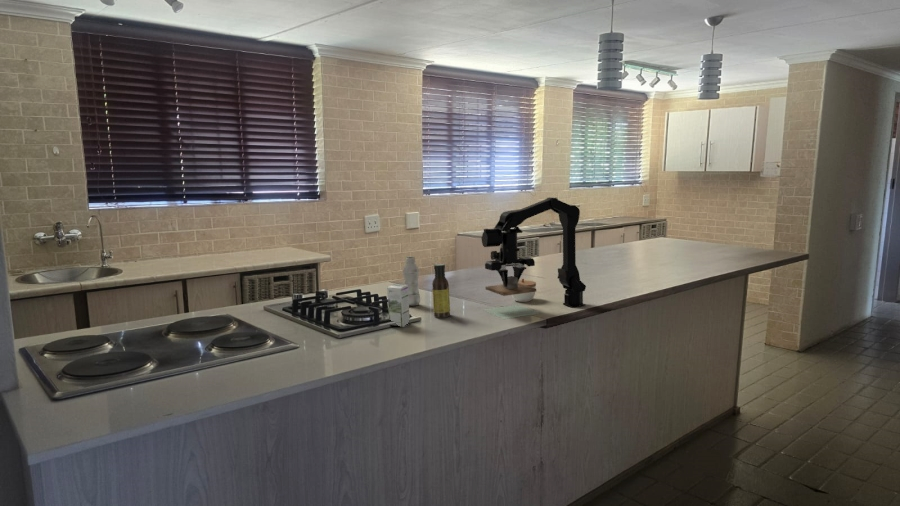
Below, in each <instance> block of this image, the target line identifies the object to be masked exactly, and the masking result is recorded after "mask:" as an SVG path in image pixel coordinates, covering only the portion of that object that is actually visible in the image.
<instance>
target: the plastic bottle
mask: <svg viewBox="0 0 900 506" xmlns="http://www.w3.org/2000/svg"><path fill="white" fill-rule="evenodd" d="M419 272H420V269H419V266H417V264H416V257H415V256H406V258H405V264H404V267H403V269H402V273H403V279H404V280H403V281H404V285H408V294H409V307H414V306H415V307H416V306H418V305H420V303H421V295H420V291H419V290H420V289H419Z"/></svg>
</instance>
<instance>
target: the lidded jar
mask: <svg viewBox="0 0 900 506" xmlns="http://www.w3.org/2000/svg"><path fill="white" fill-rule="evenodd" d="M518 283H519V284H522V285H525V286H529V287H532V288H535V289H536V290H537V288H536V287H537V286H536V285H537V283H536V282H535V281H533V280H525V279H524V278H521V280H519V281H518ZM535 295H536V292H529V293H521V294H514V295H511V297H512V299H513V300H514V301H515V302H519V303H526V302H527V303H528V302H530V301H532V300H533V298H534V297H535Z"/></svg>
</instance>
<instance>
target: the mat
mask: <svg viewBox="0 0 900 506" xmlns="http://www.w3.org/2000/svg"><path fill="white" fill-rule="evenodd" d="M483 312H487V314H488V313H489V314H490V315H493V316H494V317H498V318H500V319H502V320H506V319H512V318H513V319H514V318H518V317H527V316H533V315H540V311H539V312H538V311H535V310H534V309H533V310H532V309H530V308H529V307H525V306H524V305H520V304H515V305H509V306H508V305H507V306H501V307H495V308H494V307H493V308H488V309H487V308H486V309H483Z"/></svg>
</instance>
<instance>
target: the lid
mask: <svg viewBox="0 0 900 506" xmlns="http://www.w3.org/2000/svg"><path fill="white" fill-rule="evenodd" d="M485 290H486V291H489V292H491V293H495V294H496V295H500V296H503V297H505V296H512V295H514V294H521V293H529V292H535V293H536V292H537V288H536V289H535V288H532V287H529V286H525V285H522V284H519V283H518V278H517V277H514V275H512V276H511V275H510V276H509V275H508V278H507V287H505V286H504V284H503V283H502V284H497V285H489V286H485Z"/></svg>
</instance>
